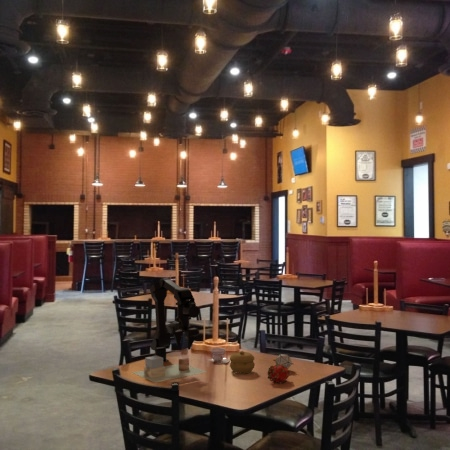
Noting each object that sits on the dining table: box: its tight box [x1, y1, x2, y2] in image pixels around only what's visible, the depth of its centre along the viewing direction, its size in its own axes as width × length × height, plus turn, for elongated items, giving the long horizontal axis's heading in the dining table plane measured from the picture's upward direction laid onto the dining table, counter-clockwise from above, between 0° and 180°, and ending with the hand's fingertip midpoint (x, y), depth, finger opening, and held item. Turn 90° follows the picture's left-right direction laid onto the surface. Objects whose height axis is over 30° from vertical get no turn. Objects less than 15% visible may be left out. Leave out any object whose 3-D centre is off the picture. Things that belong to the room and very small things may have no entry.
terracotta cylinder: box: [178, 357, 190, 371], centre depth 250 cm, size 5×5×5 cm
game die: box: [273, 352, 294, 369], centre depth 247 cm, size 9×8×10 cm
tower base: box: [143, 365, 166, 378], centre depth 241 cm, size 7×7×4 cm
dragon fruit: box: [267, 364, 290, 384], centre depth 228 cm, size 8×8×12 cm
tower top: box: [144, 355, 164, 369], centre depth 241 cm, size 6×6×4 cm
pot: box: [229, 350, 256, 375], centre depth 245 cm, size 12×12×10 cm
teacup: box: [207, 347, 231, 365], centre depth 268 cm, size 12×12×6 cm
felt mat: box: [131, 363, 207, 383], centre depth 246 cm, size 22×28×1 cm
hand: (183, 347), depth 251 cm, fingers open, 9 cm apart
